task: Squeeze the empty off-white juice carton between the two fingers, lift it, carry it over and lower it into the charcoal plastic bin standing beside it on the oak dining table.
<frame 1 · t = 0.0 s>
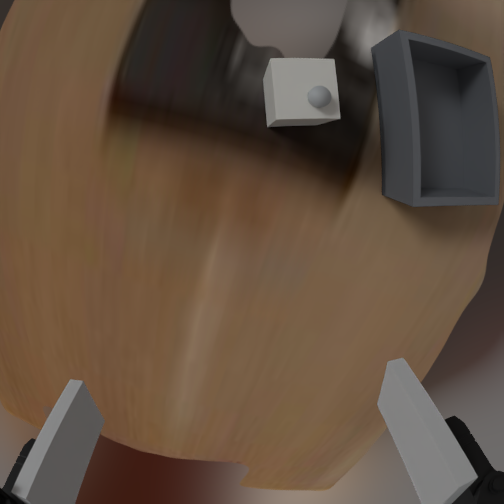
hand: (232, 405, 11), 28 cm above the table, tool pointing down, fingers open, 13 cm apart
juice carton: (290, 101, 33), on the table
bin: (425, 123, 34), on the table
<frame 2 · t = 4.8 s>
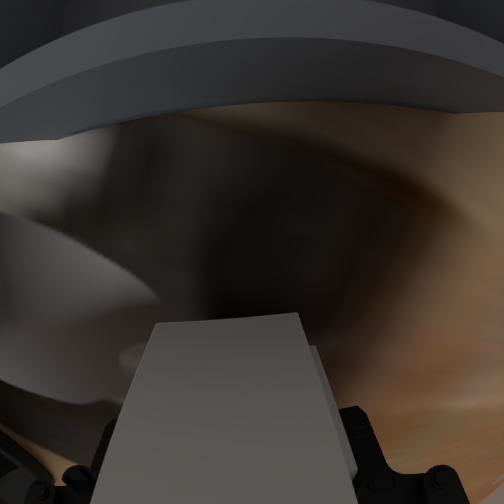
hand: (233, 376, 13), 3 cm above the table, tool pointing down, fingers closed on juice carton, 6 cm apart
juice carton: (233, 372, 13), point 2 cm above the table, touching gripper
when the fingers open (3 cm above the table, at t = 10.9 s): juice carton drops 2 cm, resting on bin.
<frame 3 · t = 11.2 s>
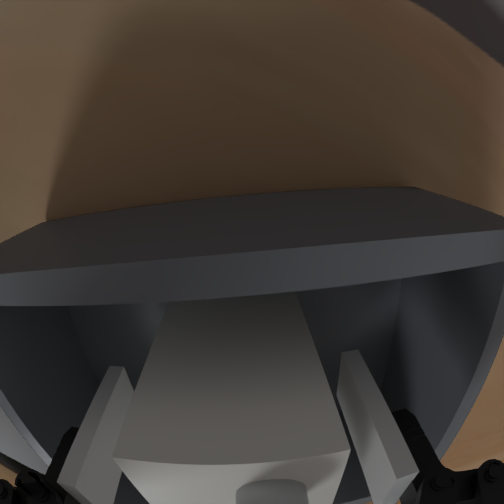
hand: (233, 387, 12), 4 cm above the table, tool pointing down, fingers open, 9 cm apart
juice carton: (237, 346, 15), point 1 cm above the table, touching bin
bin: (233, 335, 16), on the table
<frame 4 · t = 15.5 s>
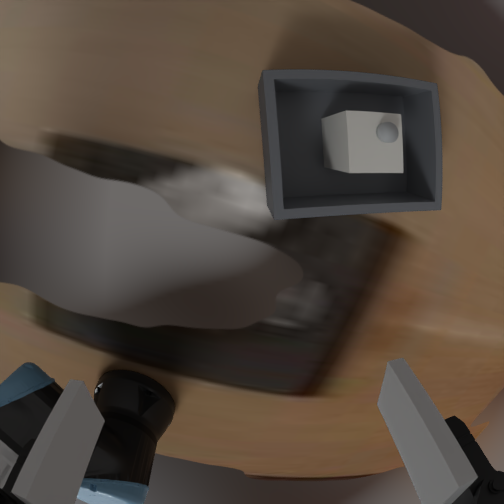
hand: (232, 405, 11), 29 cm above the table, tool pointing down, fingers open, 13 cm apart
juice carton: (345, 142, 34), point 1 cm above the table, touching bin
bin: (341, 142, 35), on the table
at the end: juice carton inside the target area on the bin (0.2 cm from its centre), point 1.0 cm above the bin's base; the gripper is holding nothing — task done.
